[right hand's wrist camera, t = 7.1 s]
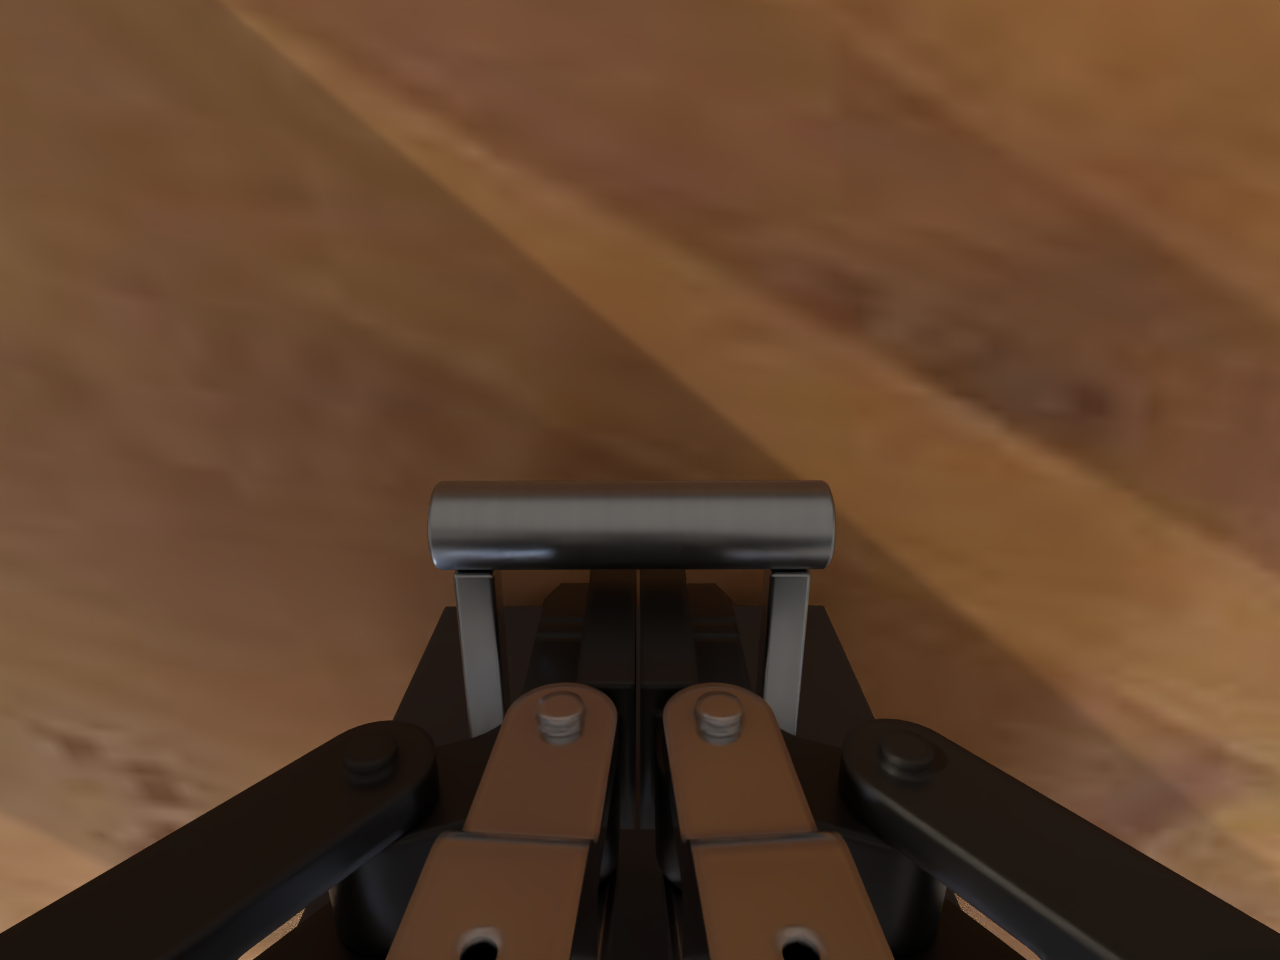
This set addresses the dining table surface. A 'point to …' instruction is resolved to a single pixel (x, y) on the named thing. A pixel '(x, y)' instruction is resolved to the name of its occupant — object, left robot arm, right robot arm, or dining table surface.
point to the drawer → (636, 539)
